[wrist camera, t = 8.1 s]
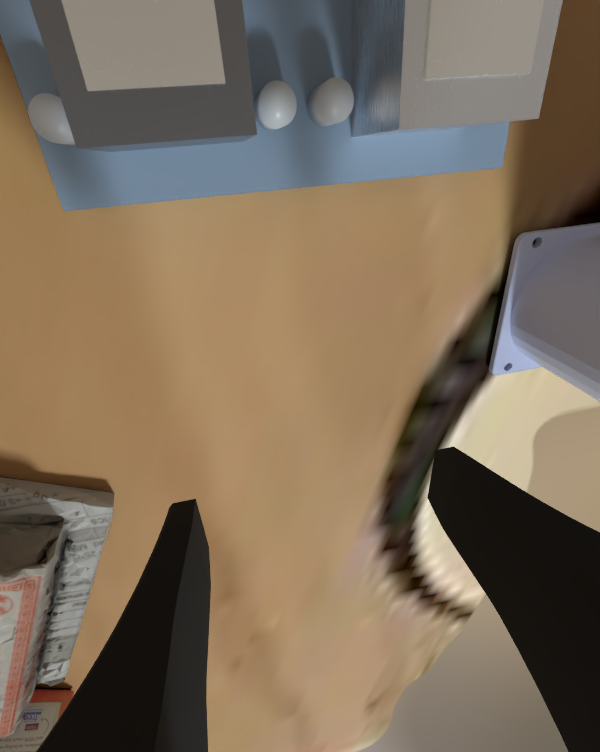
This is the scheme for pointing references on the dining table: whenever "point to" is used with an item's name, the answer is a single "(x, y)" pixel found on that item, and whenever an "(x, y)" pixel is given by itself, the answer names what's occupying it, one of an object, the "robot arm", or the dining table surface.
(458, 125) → the seated drive
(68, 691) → the cracker box
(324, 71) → the drive tray
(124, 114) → the loose drive
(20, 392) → the dining table surface
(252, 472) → the dining table surface
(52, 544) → the packaged product
